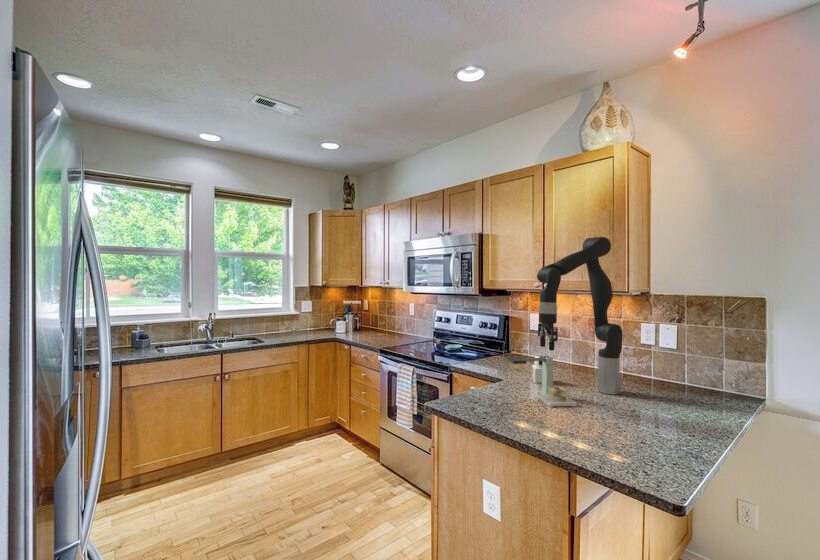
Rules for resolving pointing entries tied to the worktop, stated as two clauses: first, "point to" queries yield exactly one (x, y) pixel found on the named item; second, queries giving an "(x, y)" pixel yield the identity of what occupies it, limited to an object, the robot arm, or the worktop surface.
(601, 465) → the worktop surface
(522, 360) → the press lever
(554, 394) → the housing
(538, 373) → the container
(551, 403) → the press frame
